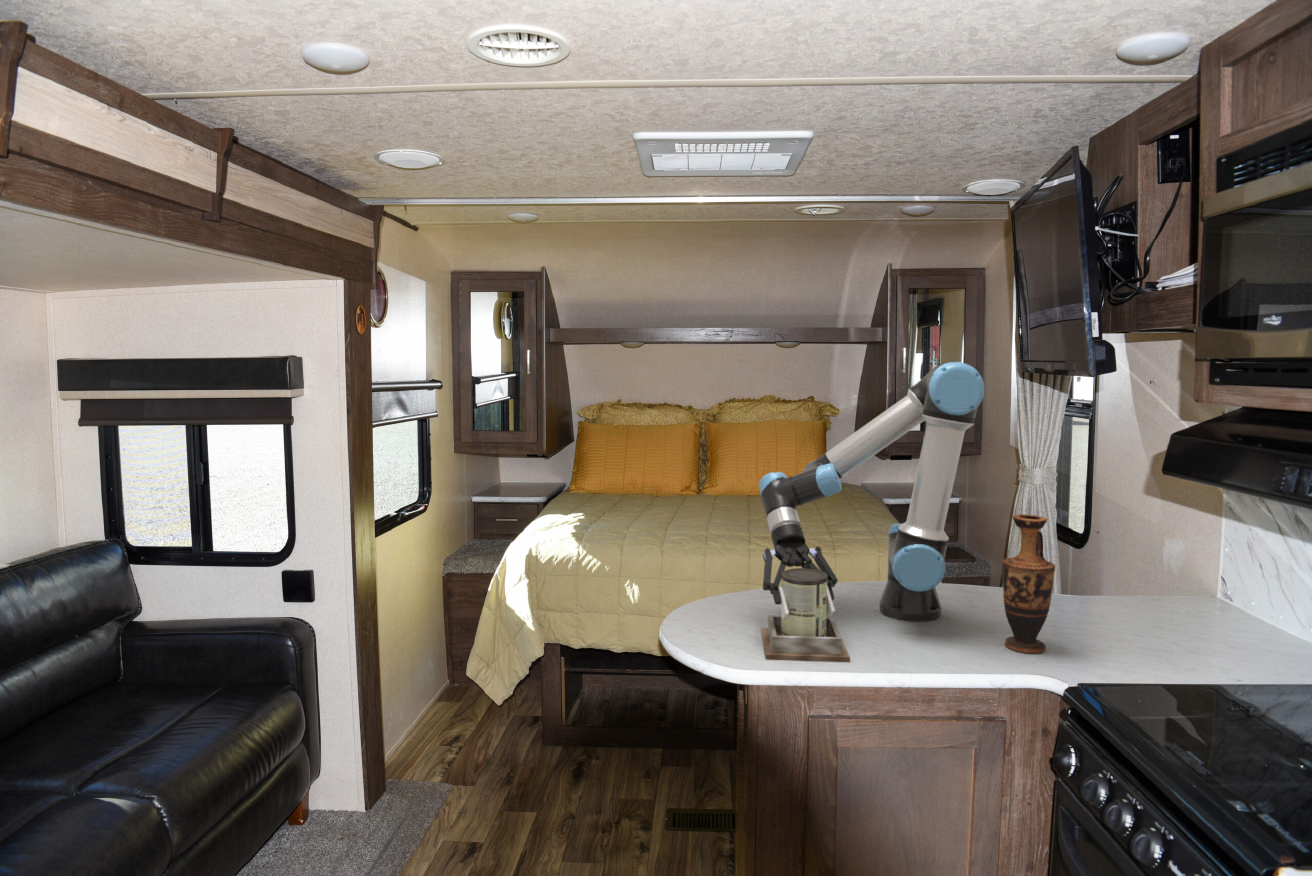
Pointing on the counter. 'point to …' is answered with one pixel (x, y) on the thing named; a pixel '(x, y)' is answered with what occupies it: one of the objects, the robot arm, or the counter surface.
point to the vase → (1027, 587)
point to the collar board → (803, 644)
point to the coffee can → (805, 602)
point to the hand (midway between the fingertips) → (808, 615)
